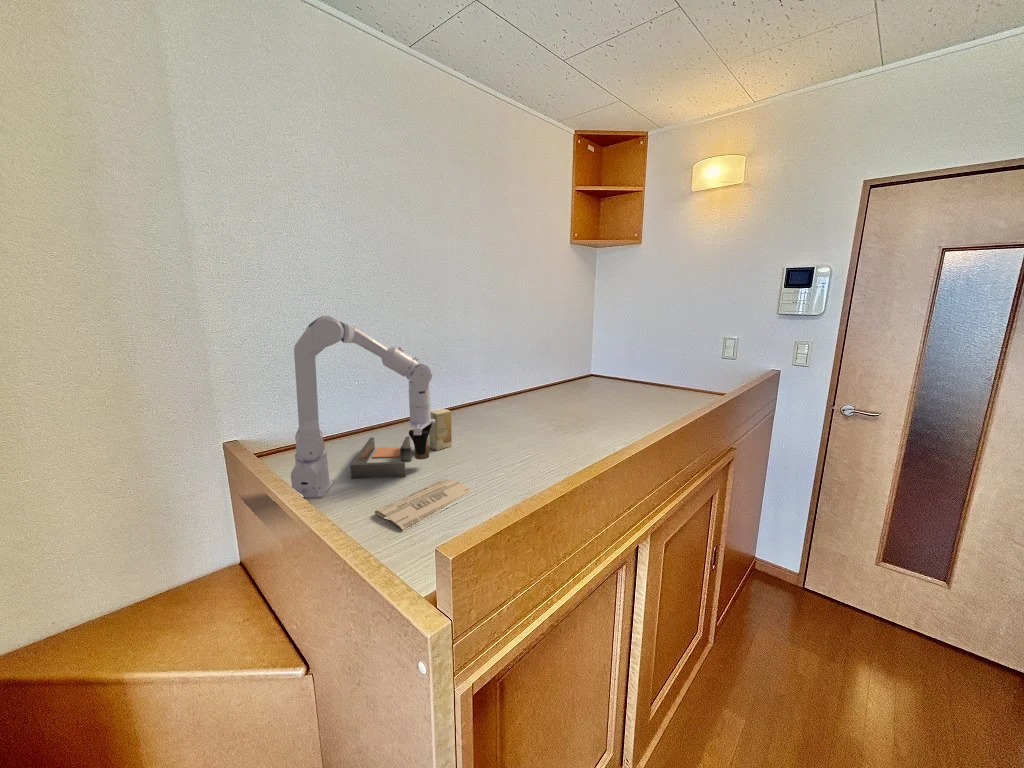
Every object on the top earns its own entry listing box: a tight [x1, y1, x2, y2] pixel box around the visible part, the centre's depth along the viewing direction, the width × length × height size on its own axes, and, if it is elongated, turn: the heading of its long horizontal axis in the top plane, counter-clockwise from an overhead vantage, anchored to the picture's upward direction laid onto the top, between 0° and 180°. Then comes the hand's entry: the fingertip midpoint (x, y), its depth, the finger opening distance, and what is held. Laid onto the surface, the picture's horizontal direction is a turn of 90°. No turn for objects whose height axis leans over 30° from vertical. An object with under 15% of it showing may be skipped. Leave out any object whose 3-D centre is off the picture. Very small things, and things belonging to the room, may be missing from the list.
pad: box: [371, 446, 401, 459], centre depth 128 cm, size 8×8×1 cm
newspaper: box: [374, 478, 473, 532], centre depth 97 cm, size 23×12×2 cm, turn 140°
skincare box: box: [428, 408, 453, 451], centre depth 132 cm, size 6×4×12 cm
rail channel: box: [350, 436, 412, 480], centre depth 120 cm, size 22×14×4 cm, turn 5°
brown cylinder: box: [414, 436, 430, 460], centre depth 116 cm, size 4×4×6 cm
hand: (421, 451), depth 116 cm, fingers closed on brown cylinder, 4 cm apart
